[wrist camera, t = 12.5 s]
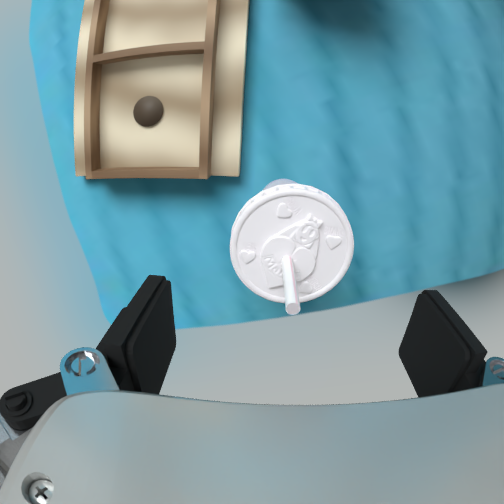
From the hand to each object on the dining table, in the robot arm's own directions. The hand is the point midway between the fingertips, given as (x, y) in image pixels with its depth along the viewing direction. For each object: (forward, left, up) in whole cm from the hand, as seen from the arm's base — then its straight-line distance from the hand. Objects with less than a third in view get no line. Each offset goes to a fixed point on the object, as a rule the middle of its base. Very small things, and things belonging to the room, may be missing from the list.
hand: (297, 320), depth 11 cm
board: (-16, -10, -15) cm, 24 cm away
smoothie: (-1, 0, -15) cm, 15 cm away
